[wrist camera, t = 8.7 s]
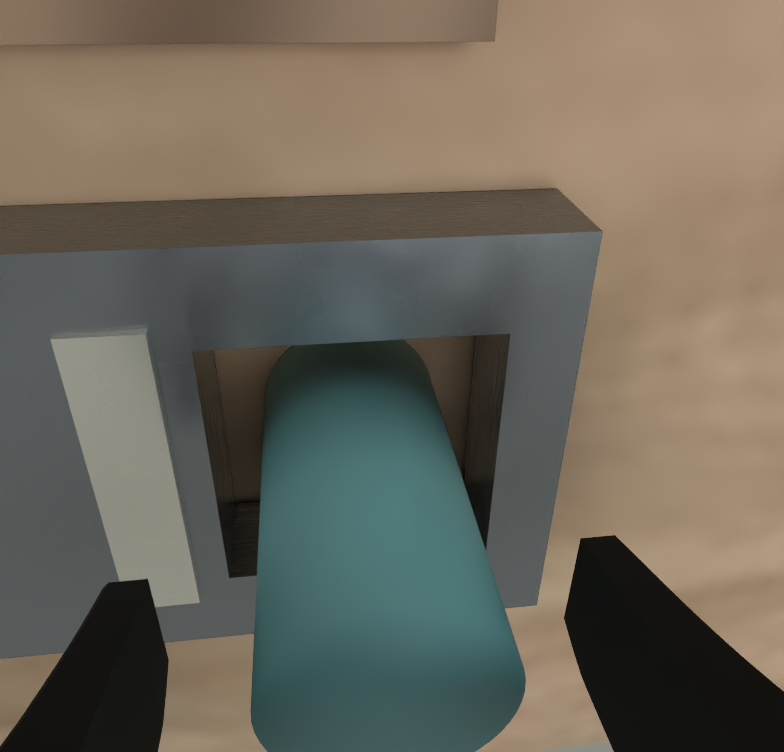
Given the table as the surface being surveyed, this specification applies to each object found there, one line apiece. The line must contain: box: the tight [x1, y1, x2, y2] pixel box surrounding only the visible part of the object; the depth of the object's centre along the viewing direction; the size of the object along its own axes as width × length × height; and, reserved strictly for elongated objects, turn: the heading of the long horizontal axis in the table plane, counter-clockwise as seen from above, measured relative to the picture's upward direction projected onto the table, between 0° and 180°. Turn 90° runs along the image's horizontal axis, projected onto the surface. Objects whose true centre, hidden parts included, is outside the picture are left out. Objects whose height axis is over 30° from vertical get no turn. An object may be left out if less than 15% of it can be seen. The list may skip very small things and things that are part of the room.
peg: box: [251, 340, 526, 752], centre depth 14 cm, size 4×4×8 cm
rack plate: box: [0, 189, 603, 659], centre depth 15 cm, size 17×10×3 cm, turn 90°
